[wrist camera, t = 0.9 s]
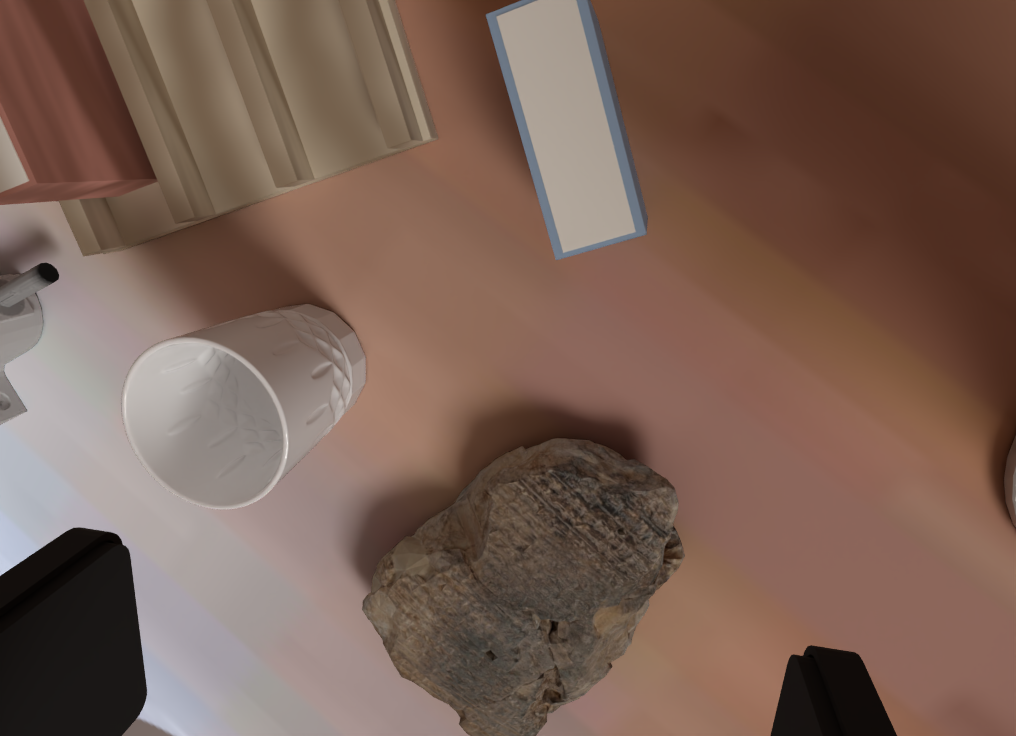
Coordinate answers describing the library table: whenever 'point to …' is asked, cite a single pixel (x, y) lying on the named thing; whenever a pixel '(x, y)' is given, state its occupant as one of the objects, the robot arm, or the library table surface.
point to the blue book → (569, 123)
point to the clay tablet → (527, 583)
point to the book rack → (195, 106)
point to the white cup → (240, 402)
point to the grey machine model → (19, 326)
